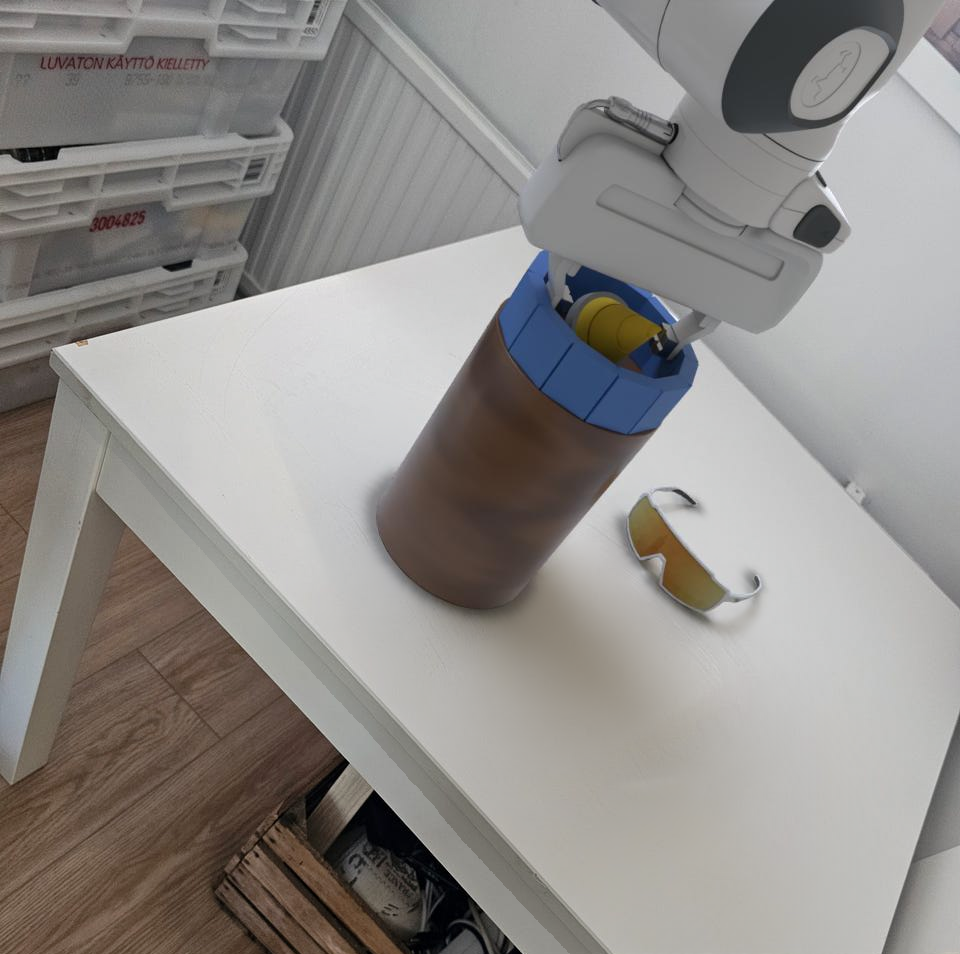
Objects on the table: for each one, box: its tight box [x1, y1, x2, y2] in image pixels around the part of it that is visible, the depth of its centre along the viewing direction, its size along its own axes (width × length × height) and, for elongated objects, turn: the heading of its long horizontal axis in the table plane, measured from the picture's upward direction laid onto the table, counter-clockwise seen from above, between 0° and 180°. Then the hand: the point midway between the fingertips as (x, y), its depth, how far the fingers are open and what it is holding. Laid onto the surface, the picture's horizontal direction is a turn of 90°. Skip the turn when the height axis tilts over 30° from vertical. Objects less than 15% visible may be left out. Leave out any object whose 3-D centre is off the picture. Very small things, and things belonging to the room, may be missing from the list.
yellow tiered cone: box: [565, 292, 662, 367], centre depth 70 cm, size 5×5×10 cm
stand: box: [376, 296, 664, 610], centre depth 79 cm, size 14×14×20 cm
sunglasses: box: [626, 485, 763, 614], centre depth 101 cm, size 14×15×5 cm
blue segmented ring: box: [499, 250, 700, 434], centre depth 71 cm, size 13×13×4 cm
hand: (604, 332), depth 71 cm, fingers open, 8 cm apart
